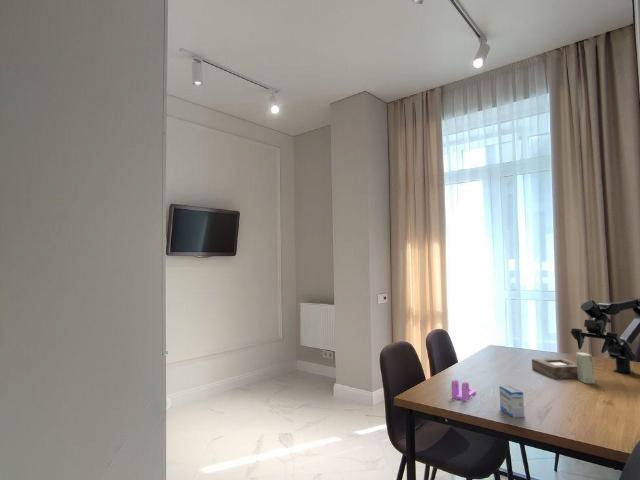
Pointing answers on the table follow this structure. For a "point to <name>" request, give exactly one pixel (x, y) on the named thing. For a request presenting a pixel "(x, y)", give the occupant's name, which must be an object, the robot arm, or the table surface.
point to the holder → (555, 367)
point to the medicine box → (511, 401)
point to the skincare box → (585, 367)
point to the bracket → (462, 391)
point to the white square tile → (557, 363)
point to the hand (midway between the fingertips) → (590, 350)
